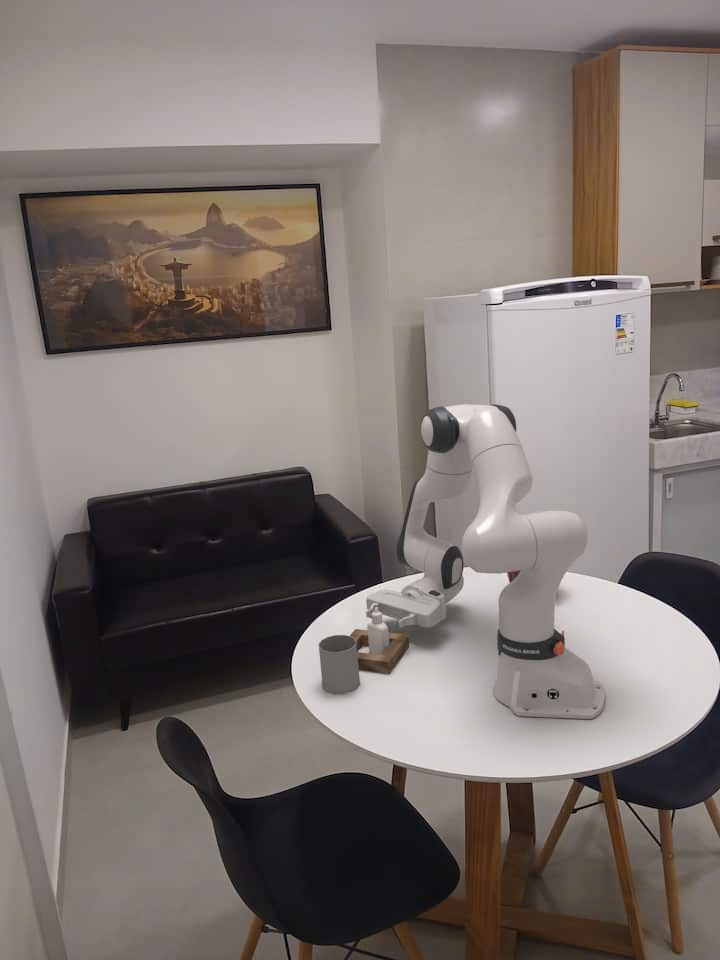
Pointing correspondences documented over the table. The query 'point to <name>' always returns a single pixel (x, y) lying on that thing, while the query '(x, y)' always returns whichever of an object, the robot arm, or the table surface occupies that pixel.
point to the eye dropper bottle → (377, 634)
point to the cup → (339, 664)
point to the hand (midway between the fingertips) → (382, 619)
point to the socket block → (387, 659)
